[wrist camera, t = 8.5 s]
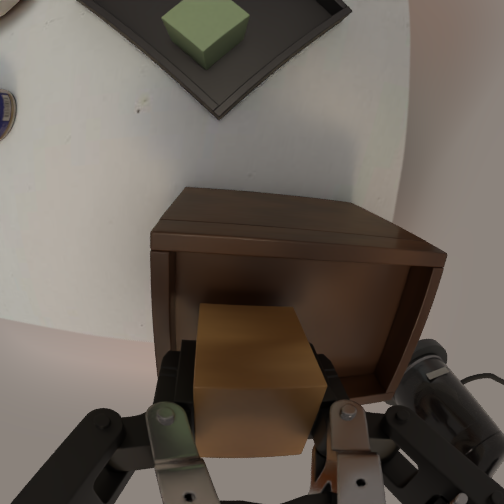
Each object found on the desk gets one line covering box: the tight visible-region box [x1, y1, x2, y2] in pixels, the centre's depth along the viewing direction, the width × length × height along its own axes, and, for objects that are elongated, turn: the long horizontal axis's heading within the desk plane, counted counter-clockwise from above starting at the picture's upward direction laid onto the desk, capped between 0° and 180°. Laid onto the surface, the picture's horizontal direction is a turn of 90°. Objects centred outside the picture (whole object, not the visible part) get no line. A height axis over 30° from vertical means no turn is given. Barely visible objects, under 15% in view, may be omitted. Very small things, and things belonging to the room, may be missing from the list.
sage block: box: [161, 0, 250, 70], centre depth 17 cm, size 4×4×5 cm
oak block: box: [193, 303, 327, 458], centre depth 11 cm, size 4×4×5 cm
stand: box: [150, 187, 447, 405], centre depth 20 cm, size 14×10×13 cm
